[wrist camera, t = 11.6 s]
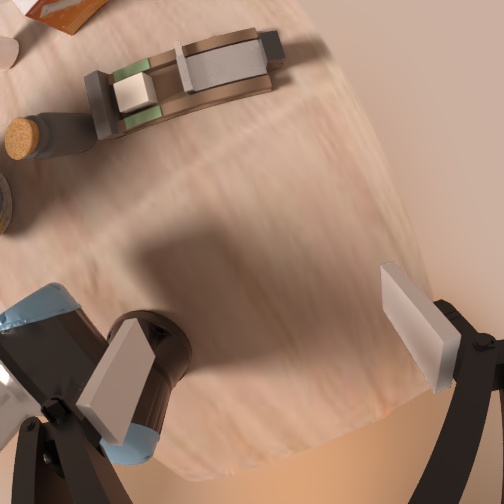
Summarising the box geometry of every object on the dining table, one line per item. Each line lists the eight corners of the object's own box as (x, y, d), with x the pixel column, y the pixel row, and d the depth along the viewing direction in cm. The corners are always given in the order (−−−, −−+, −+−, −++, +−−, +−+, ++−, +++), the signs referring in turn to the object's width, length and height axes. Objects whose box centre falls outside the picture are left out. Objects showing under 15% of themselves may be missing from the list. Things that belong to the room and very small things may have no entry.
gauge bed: (117, 138, 39) (98, 139, 34) (103, 82, 36) (83, 76, 31) (271, 91, 37) (274, 84, 32) (254, 32, 34) (254, 17, 29)
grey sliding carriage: (190, 95, 36) (180, 89, 31) (178, 48, 34) (167, 36, 28) (282, 72, 35) (286, 62, 30) (268, 25, 33) (270, 9, 27)
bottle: (61, 143, 39) (-4, 154, 25) (75, 108, 37) (11, 105, 23) (88, 158, 40) (26, 173, 26) (104, 122, 38) (43, 122, 24)
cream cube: (131, 113, 37) (119, 112, 33) (125, 87, 36) (113, 83, 32) (158, 103, 37) (148, 100, 33) (151, 77, 35) (141, 72, 32)
